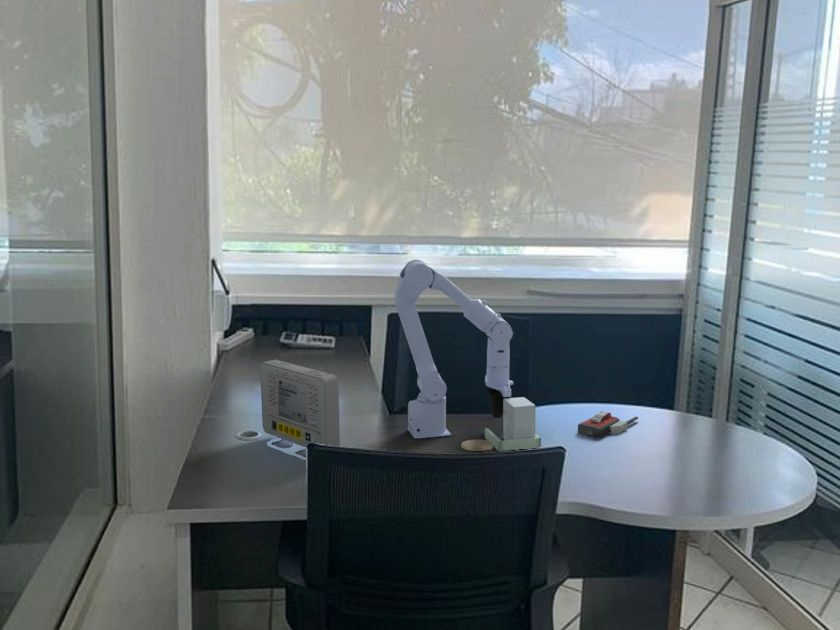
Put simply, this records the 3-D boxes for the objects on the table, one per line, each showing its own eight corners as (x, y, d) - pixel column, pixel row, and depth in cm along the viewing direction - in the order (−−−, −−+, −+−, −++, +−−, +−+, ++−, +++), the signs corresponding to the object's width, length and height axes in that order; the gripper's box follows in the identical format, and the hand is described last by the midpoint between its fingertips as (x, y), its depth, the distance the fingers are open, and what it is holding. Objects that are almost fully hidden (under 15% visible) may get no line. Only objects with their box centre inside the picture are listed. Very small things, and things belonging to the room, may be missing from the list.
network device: (347, 456, 204) (345, 374, 200) (318, 466, 198) (315, 381, 194) (282, 433, 222) (279, 357, 218) (253, 441, 215) (250, 363, 212)
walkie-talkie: (604, 443, 213) (640, 423, 228) (605, 425, 212) (641, 407, 227) (573, 436, 218) (610, 417, 234) (573, 419, 218) (610, 401, 233)
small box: (535, 447, 209) (536, 405, 207) (513, 449, 208) (514, 407, 206) (523, 437, 217) (524, 396, 215) (502, 438, 216) (503, 398, 214)
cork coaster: (466, 453, 205) (466, 451, 205) (457, 442, 213) (457, 440, 213) (498, 450, 207) (498, 448, 207) (487, 439, 215) (487, 438, 215)
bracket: (499, 451, 206) (499, 441, 206) (484, 437, 216) (484, 428, 216) (540, 447, 209) (541, 438, 208) (524, 434, 219) (524, 424, 218)
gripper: (523, 371, 214) (521, 424, 216) (503, 358, 228) (502, 407, 230) (496, 372, 212) (495, 426, 215) (477, 359, 226) (477, 409, 228)
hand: (497, 416), depth 222 cm, fingers closed
